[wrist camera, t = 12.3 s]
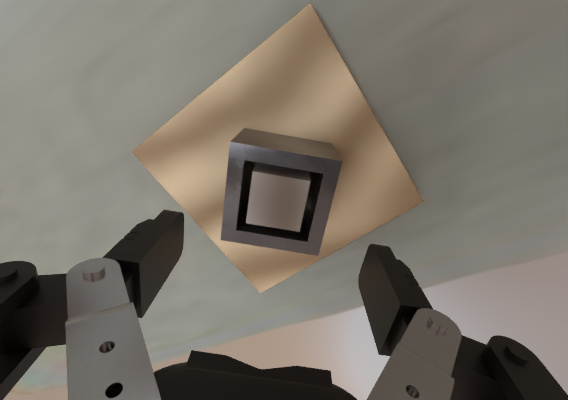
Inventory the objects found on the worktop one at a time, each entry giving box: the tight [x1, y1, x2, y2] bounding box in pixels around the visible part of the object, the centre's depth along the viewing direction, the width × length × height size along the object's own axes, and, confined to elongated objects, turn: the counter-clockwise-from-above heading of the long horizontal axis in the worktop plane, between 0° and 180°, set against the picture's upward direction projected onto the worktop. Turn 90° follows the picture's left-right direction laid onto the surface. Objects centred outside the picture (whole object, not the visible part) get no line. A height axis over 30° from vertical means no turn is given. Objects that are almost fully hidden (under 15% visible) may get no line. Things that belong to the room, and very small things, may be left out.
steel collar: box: [221, 128, 343, 256], centre depth 20 cm, size 6×6×5 cm
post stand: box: [132, 3, 424, 293], centre depth 20 cm, size 16×16×6 cm
